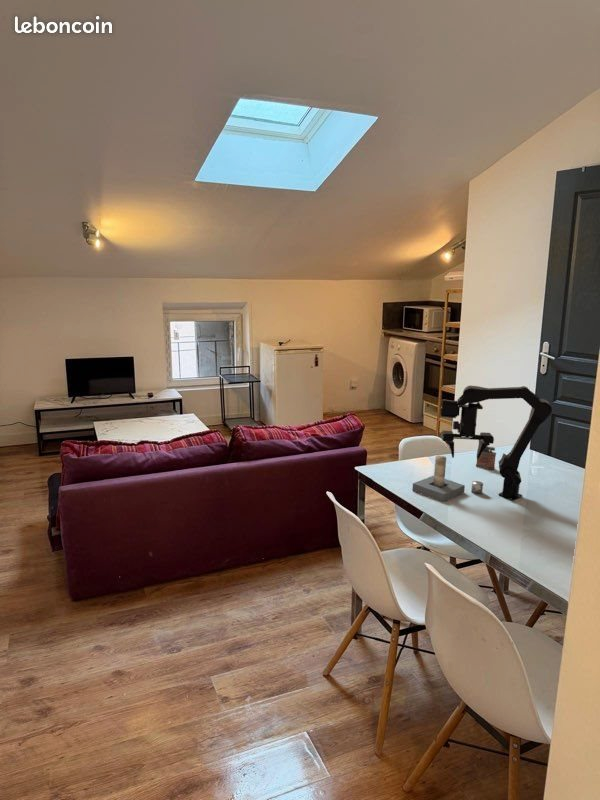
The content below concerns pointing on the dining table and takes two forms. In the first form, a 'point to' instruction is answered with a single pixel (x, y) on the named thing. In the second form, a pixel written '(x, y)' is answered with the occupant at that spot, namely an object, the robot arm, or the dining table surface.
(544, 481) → the dining table surface
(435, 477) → the birch pin
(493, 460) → the lighter
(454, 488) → the plate
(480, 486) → the steel stub
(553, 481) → the dining table surface
